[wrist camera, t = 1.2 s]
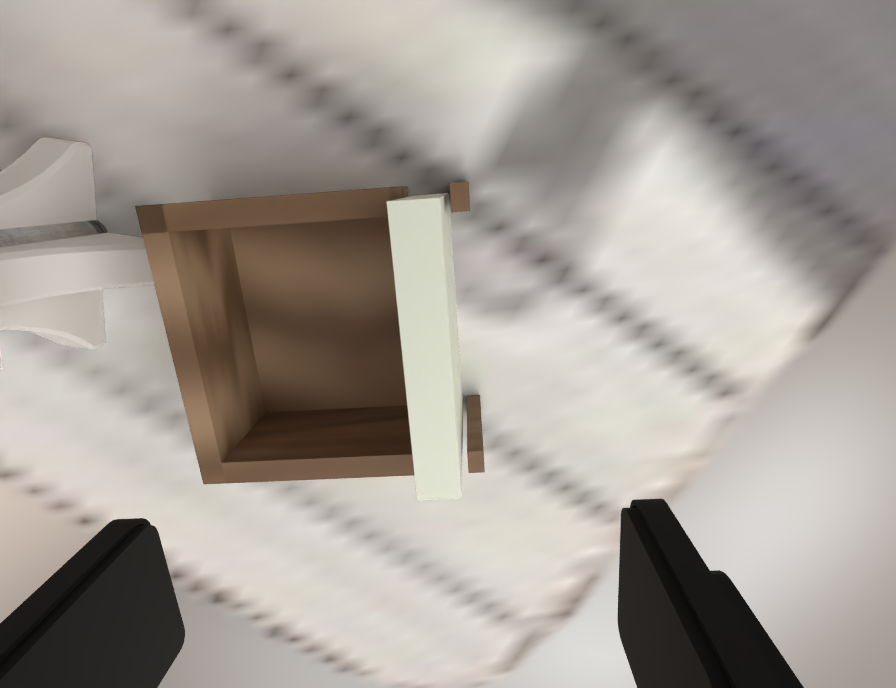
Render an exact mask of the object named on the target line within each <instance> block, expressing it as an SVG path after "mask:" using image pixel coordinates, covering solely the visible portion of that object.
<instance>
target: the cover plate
mask: <svg viewBox="0 0 896 688" xmlns="http://www.w3.org/2000/svg"><path fill="white" fill-rule="evenodd" d="M387 211H388V221H389V230H390V240H391V250H392V260H393V269H394V279H395V289H396V299H397V308H398V318H399V328H400V338H401V347H402V357H403V367H404V377H405V386H406V396H407V406H408V416H409V425H410V435H411V445H412V455H413V465H414V474H415V484H416V494H417V500H440V499H461V498H462V437H463V398H462V383H461V368H460V353H459V338H458V323H457V308H456V293H455V278H454V263H453V248H452V233H451V218H450V203H449V193H442V194H428V195H414V196H409V197H405V198H400V199H396V200H391V201H387Z"/></svg>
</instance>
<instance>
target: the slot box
mask: <svg viewBox="0 0 896 688" xmlns="http://www.w3.org/2000/svg"><path fill="white" fill-rule="evenodd" d="M450 196H451V211H452V212H462V211H470V199H469V182H456V183H450ZM405 197H408V192H407V187H389V188H375V189H361V190H348V191H334V192H321V193H307V194H293V195H280V196H266V197H253V198H239V199H226V200H212V201H198V202H185V203H171V204H158V205H144V206H135V207H136V211H137V216H138V220H139V224H140V228H141V232H142V236H143V240H144V244H145V248H146V252H147V256H148V260H149V264H150V268H151V272H152V277H153V281H154V285H155V289H156V293H157V297H158V301H159V305H160V309H161V313H162V317H163V321H164V325H165V329H166V333H167V338H168V342H169V346H170V350H171V354H172V358H173V362H174V366H175V370H176V374H177V378H178V382H179V386H180V390H181V394H182V399H183V403H184V407H185V411H186V415H187V419H188V423H189V427H190V431H191V435H192V439H193V443H194V447H195V451H196V455H197V459H198V464H199V468H200V472H201V476H202V480H203V484H221V483H245V482H268V481H291V480H315V479H338V478H361V477H385V476H408V475H415V474H414V465H413V455H412V445H411V435H410V425H409V416H408V406H407V396H406V386H405V377H404V367H403V357H402V347H401V338H400V328H399V318H398V308H397V299H396V289H395V279H394V269H393V260H392V250H391V240H390V230H389V221H388V211H387V201H391V200H396V199H400V198H405ZM467 454H468V469H469V473H478V472H485V471H484V453H483V437H482V422H481V406H480V395H473V396H467Z"/></svg>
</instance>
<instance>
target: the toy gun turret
mask: <svg viewBox="0 0 896 688" xmlns="http://www.w3.org/2000/svg"><path fill="white" fill-rule="evenodd" d="M145 285H154V281H153V277H152V272H151V268H150V264H149V260H148V256H147V252H146V248H145V244H144V240H143V237H137V236H129V235H122V234H115V233H108V232H107V231H106V229H105V228H104V226H103V225H102V224H101V223H99V222H98V221H97V214H96V200H95V186H94V173H93V159H92V148H91V147H90V146H89V145H88V144H87V143H83V142H76V141H69V140H62V139H55V138H46V137H43V138H41V139H38V140H37V141H36V142H35V143H34V144H33V145H32V146H31V147H30V148H29V149H28V150H27V151H26V152H25V153H24V154H23V155H22V156H20V157H19V158H18V159H17V160H15V161H14V162H13V163H12V164H11V165H9V166H8V167H7V168H5V169H3V170H2V171H0V330H6V329H11V330H24V331H28V332H31V333H34V334H37V335H39V336H42V337H45V338H47V339H49V340H51V341H53V342H55V343H57V344H59V345H65V346H72V347H79V348H87V349H95V348H98V347H100V346H102V345H103V344H105V343H106V336H105V322H104V308H103V295H102V290H103V289H111V288H120V287H132V286H145ZM2 368H3V364H2V357H1V350H0V370H1V369H2Z"/></svg>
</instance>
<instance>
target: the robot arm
mask: <svg viewBox="0 0 896 688" xmlns="http://www.w3.org/2000/svg"><path fill="white" fill-rule="evenodd" d="M618 594H619V595H618V627H619V633H620V638H621V641H622V644H623V647H624V650H625V653H626V656H627V659H628V662H629V665H630V668H631V670H632V673H633V676H634V679H635V682H636V685H637V688H803V686H802V684H801V683H800V682H799V680H798V679H797V677H796V676H795V674H794V673H793V671H792V670H791V668H790V667H789V665H788V664H787V662H786V661H785V659H784V658H783V656H782V655H781V653H780V652H779V650H778V649H777V647H776V646H775V645H774V643H773V642H772V640H771V639H770V637H769V636H768V634H767V633H766V631H765V630H764V628H763V627H762V625H761V624H760V622H759V621H758V619H757V618H756V616H755V615H754V613H753V612H752V611H751V609H750V608H749V606H748V605H747V603H746V602H745V600H744V599H743V597H742V596H741V594H740V593H739V591H738V590H737V588H736V587H735V585H734V584H733V583H732V581H731V580H730V578H729V577H728V576H727V575H726V574H725V573H724V572H722V571H710V570H709V569H708V567H707V566H706V564H705V563H704V561H703V559H702V558H701V556H700V555H699V553H698V552H697V550H696V548H695V547H694V545H693V544H692V542H691V541H690V539H689V538H688V536H687V535H686V533H685V531H684V530H683V528H682V527H681V525H680V523H679V522H678V520H677V519H676V517H675V515H674V514H673V512H672V511H671V509H670V508H669V506H668V504H667V503H666V502H665V500H663V499H642V500H633V501H632V502H631V506H630V508H623V509H622V511H621V533H620V563H619V593H618ZM184 637H185V629H184V625H183V621H182V617H181V614H180V610H179V607H178V603H177V599H176V596H175V592H174V588H173V585H172V581H171V577H170V574H169V570H168V566H167V563H166V559H165V555H164V552H163V548H162V545H161V541H160V537H159V534H158V531H157V528H156V527H155V526H152V525H151V524H150V522H149V521H148V520H147V519H143V518H139V519H117V520H113V521H111V522H110V523H108V524H107V525H106V526H105V527H104V528H103V529H102V530H101V531H100V532H99V533H98V534H97V535H95V536H94V537H93V538H92V539H91V540H90V541H89V542H88V543H87V544H86V545H85V546H84V547H83V548H82V549H80V550H79V551H78V552H77V553H76V554H75V555H74V556H73V557H72V558H71V559H70V560H68V561H67V562H66V563H65V564H64V565H63V566H62V567H61V568H60V569H59V570H58V571H57V572H56V573H54V574H53V575H52V576H51V577H50V578H49V579H48V580H47V581H46V582H45V583H44V584H43V585H42V586H41V587H39V588H38V589H37V590H36V591H35V592H34V593H33V594H32V595H31V596H30V597H29V598H28V599H26V600H25V601H24V602H23V603H22V604H21V605H20V606H19V607H18V608H17V609H16V610H14V611H13V612H12V613H11V614H10V615H9V616H8V617H7V618H6V619H5V620H4V621H3V622H2V623H0V688H157V687H158V685H159V684H160V682H161V681H162V679H163V677H164V676H165V674H166V673H167V671H168V669H169V668H170V666H171V665H172V663H173V661H174V660H175V658H176V657H177V655H178V653H179V652H180V650H181V648H182V646H183V643H184Z"/></svg>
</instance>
